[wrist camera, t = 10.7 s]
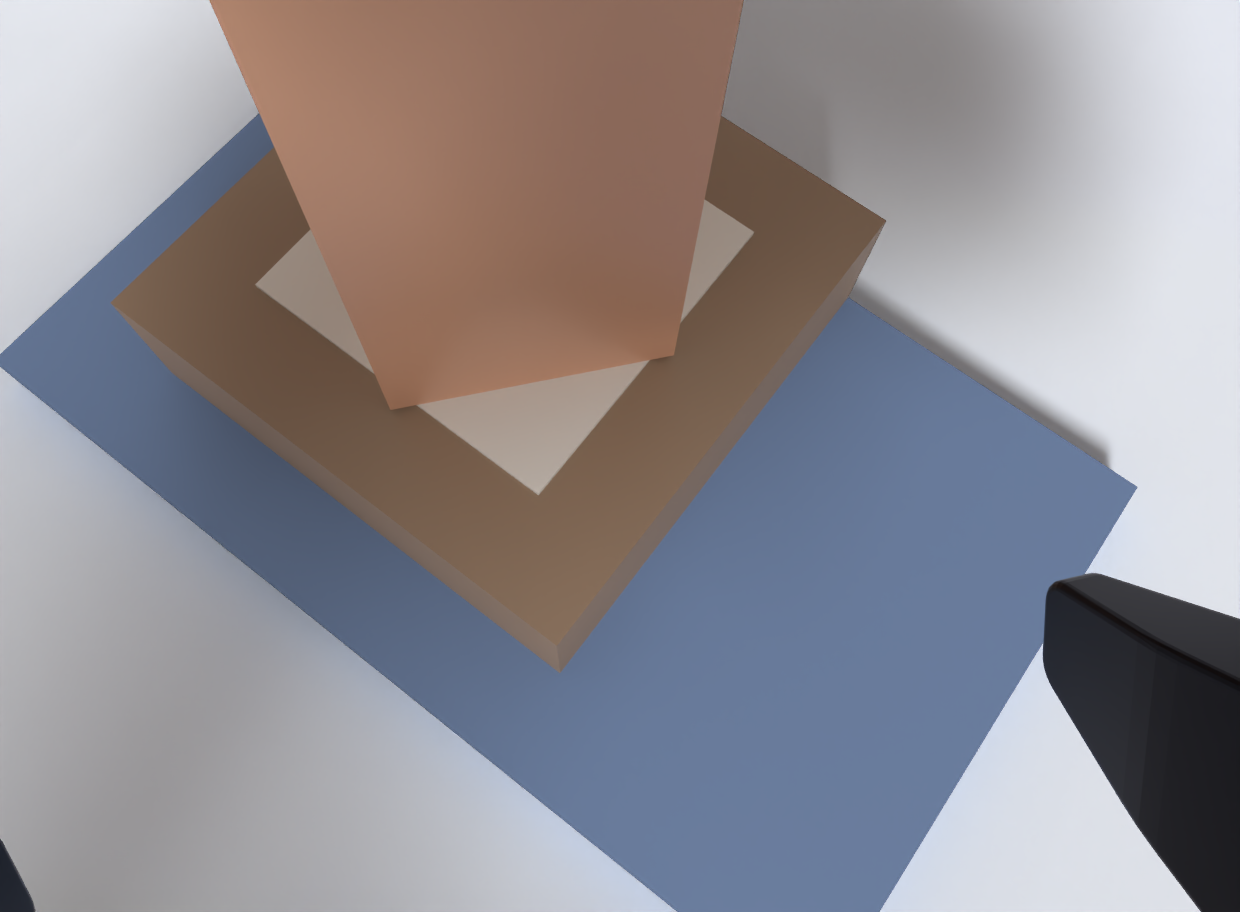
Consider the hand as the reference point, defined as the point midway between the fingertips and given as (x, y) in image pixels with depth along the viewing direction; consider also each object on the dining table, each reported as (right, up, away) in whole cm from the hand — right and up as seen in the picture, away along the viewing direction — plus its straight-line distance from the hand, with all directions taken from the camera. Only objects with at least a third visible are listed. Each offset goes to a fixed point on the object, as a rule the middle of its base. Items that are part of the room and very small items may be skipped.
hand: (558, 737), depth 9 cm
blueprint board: (-1, +3, +13) cm, 14 cm away
